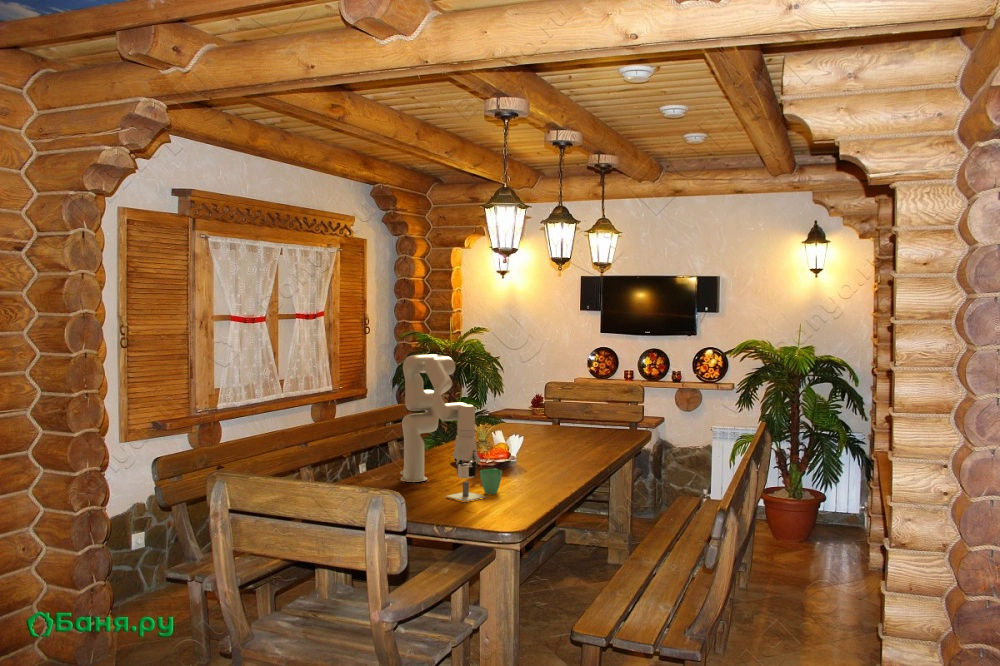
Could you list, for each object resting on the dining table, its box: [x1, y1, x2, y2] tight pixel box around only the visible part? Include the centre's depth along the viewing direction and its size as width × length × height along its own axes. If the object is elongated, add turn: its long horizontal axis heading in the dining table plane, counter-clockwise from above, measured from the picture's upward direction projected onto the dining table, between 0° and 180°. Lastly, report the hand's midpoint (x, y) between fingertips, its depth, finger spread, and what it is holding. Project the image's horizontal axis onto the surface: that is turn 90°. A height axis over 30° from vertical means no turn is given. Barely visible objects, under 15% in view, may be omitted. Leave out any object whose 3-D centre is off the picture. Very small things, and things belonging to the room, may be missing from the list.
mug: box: [479, 468, 503, 495], centre depth 365 cm, size 15×10×10 cm
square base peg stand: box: [445, 481, 486, 502], centre depth 354 cm, size 12×12×7 cm
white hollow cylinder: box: [457, 463, 475, 479], centre depth 353 cm, size 7×7×5 cm
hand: (466, 474), depth 353 cm, fingers closed on white hollow cylinder, 6 cm apart
